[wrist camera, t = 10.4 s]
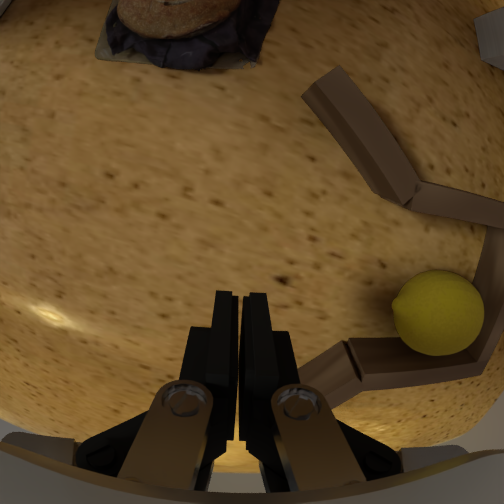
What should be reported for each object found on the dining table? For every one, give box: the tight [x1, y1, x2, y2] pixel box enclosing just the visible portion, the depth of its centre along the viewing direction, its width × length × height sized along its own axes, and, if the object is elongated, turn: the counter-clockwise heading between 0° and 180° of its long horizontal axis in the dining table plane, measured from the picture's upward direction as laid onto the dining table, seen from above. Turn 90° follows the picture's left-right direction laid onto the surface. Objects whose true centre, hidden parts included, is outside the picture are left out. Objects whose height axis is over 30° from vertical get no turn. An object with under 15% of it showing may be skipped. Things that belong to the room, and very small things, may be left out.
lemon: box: [392, 270, 484, 356], centre depth 17 cm, size 6×6×8 cm
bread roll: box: [95, 0, 279, 71], centre depth 12 cm, size 11×8×4 cm
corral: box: [297, 65, 504, 410], centre depth 17 cm, size 22×17×4 cm
